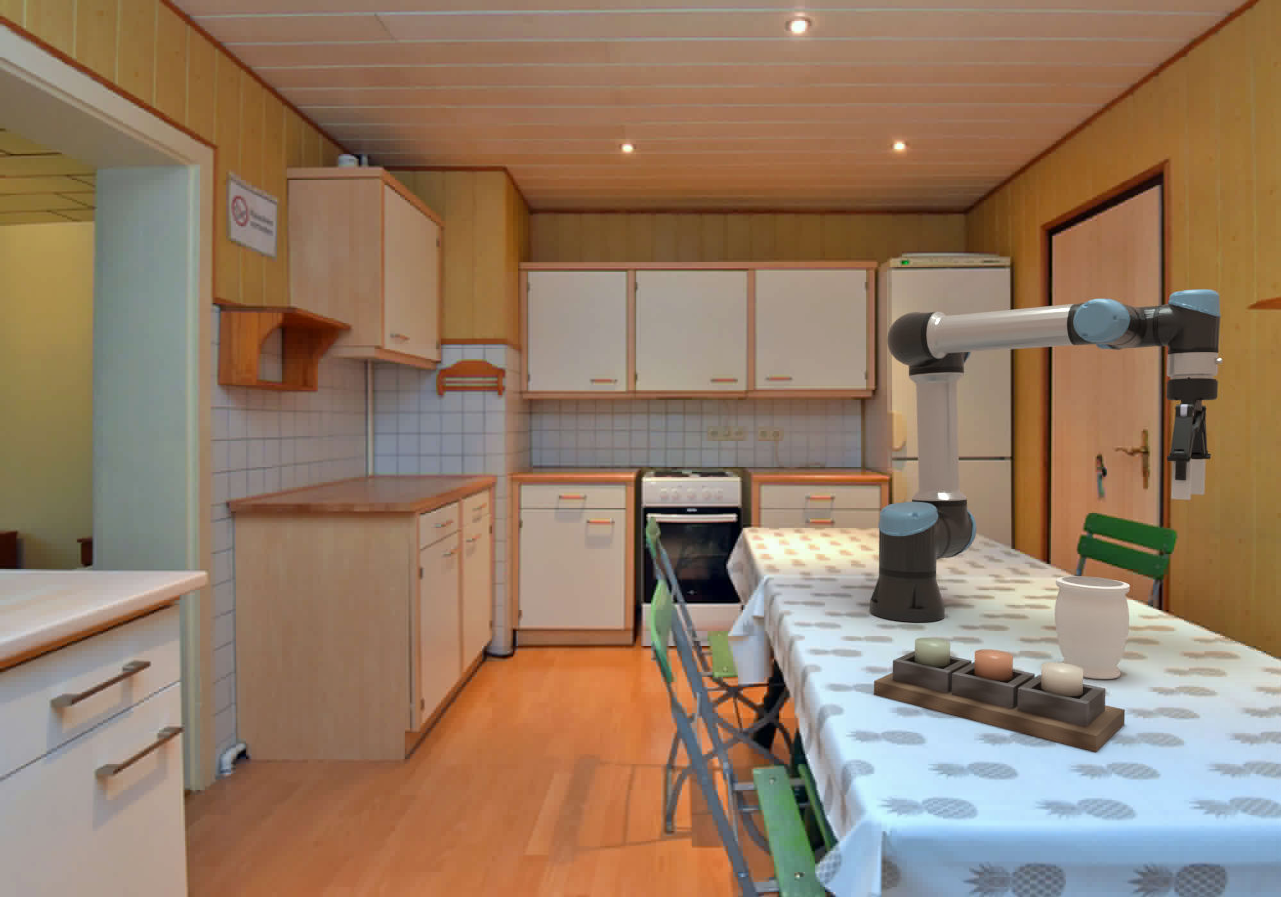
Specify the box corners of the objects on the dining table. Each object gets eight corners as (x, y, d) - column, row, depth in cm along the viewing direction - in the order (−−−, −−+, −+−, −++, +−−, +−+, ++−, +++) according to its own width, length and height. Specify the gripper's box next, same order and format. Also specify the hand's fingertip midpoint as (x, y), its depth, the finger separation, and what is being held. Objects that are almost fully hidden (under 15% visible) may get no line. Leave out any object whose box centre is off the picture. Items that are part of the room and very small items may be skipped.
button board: (873, 694, 120) (874, 661, 120) (913, 674, 130) (913, 644, 129) (1096, 752, 99) (1097, 712, 99) (1124, 724, 109) (1125, 687, 108)
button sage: (908, 661, 121) (909, 642, 120) (923, 655, 124) (923, 635, 124) (941, 669, 117) (941, 648, 117) (955, 661, 121) (955, 642, 121)
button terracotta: (968, 675, 114) (968, 654, 114) (982, 667, 118) (982, 647, 118) (1004, 683, 111) (1005, 661, 111) (1018, 675, 114) (1018, 654, 114)
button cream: (1035, 690, 108) (1035, 667, 108) (1048, 681, 112) (1048, 660, 111) (1076, 699, 104) (1076, 676, 104) (1087, 690, 108) (1088, 667, 108)
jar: (1119, 666, 134) (1121, 577, 134) (1135, 685, 125) (1137, 589, 124) (1049, 660, 138) (1050, 573, 137) (1059, 678, 128) (1061, 585, 128)
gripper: (1205, 374, 131) (1201, 503, 132) (1228, 380, 150) (1224, 493, 150) (1152, 375, 137) (1148, 499, 137) (1180, 381, 155) (1177, 491, 155)
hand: (1188, 496), depth 144 cm, fingers open, 13 cm apart
